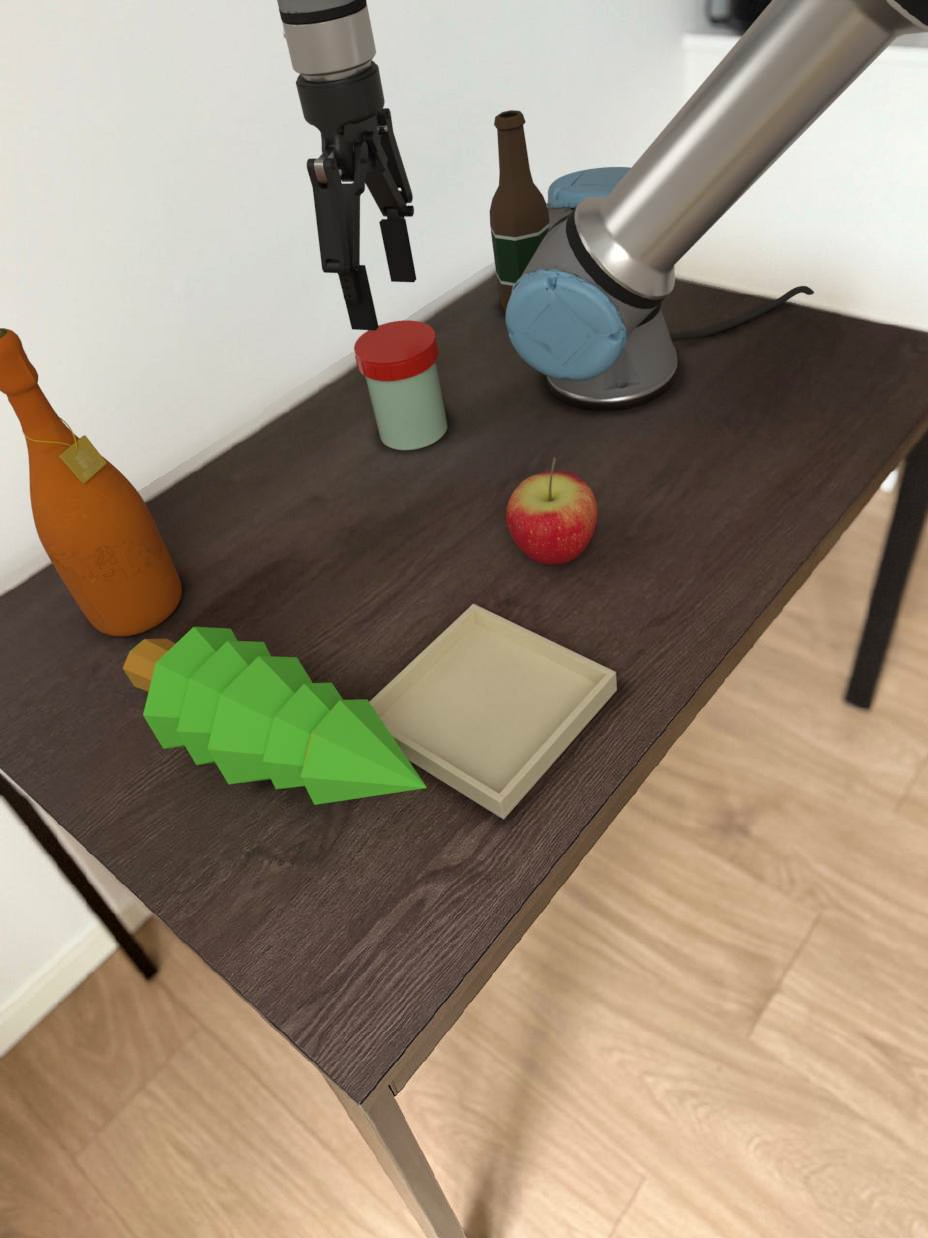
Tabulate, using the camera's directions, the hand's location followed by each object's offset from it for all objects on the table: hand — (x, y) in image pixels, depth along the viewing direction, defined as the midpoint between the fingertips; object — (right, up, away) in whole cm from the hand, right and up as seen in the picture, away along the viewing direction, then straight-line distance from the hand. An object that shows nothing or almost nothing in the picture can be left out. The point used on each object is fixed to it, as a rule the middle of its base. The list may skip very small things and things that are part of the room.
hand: (385, 303), depth 100 cm
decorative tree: (-6, -45, -22) cm, 51 cm away
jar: (+2, -11, +11) cm, 16 cm away
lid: (+1, -3, +3) cm, 5 cm away
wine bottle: (-24, -32, -5) cm, 40 cm away
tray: (+10, -41, -21) cm, 47 cm away
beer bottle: (+17, +9, +29) cm, 34 cm away
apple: (+17, -27, -8) cm, 33 cm away
